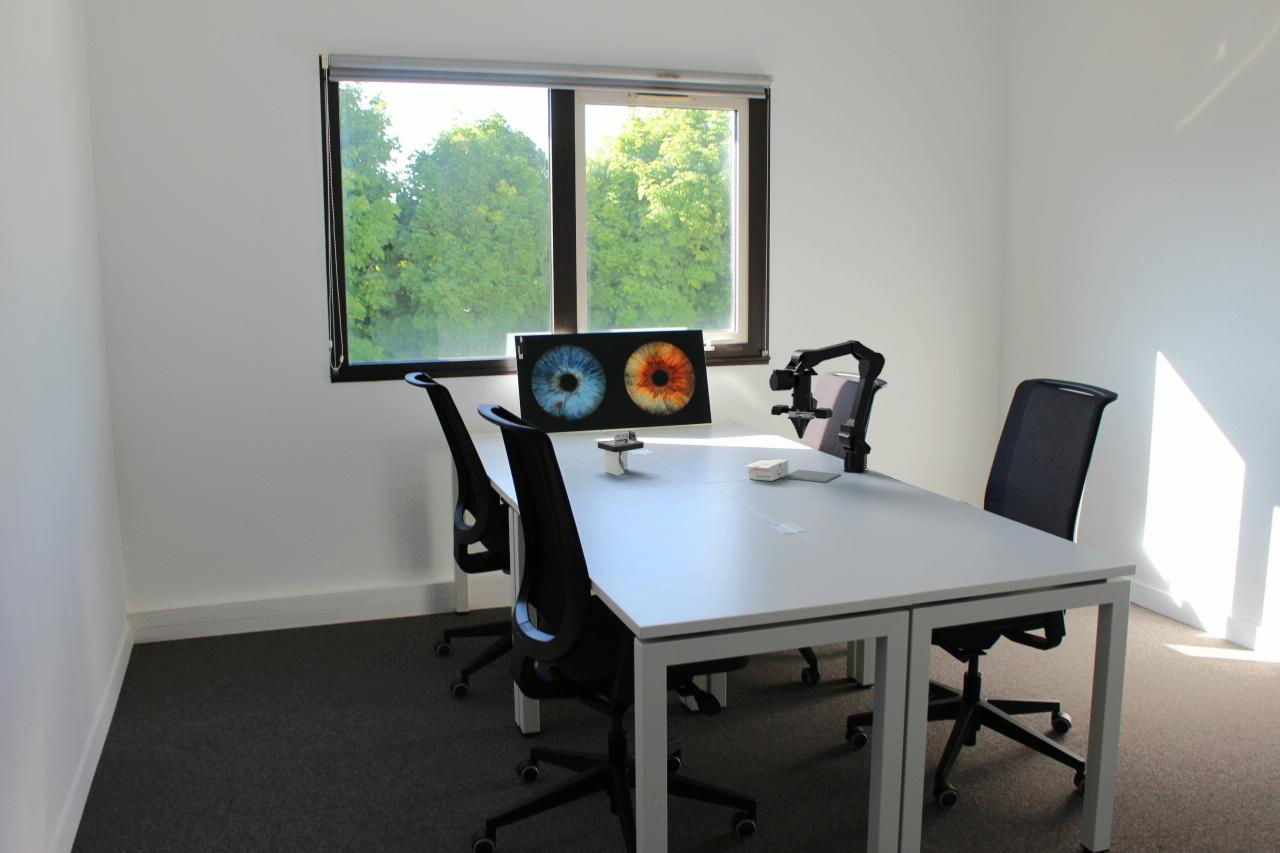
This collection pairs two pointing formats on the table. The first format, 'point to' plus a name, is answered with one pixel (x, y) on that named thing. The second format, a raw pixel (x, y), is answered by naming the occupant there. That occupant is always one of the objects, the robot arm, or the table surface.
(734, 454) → the table surface
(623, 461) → the black-topped pedestal
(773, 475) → the ink cartridge box
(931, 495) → the table surface
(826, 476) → the mat
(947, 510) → the table surface
